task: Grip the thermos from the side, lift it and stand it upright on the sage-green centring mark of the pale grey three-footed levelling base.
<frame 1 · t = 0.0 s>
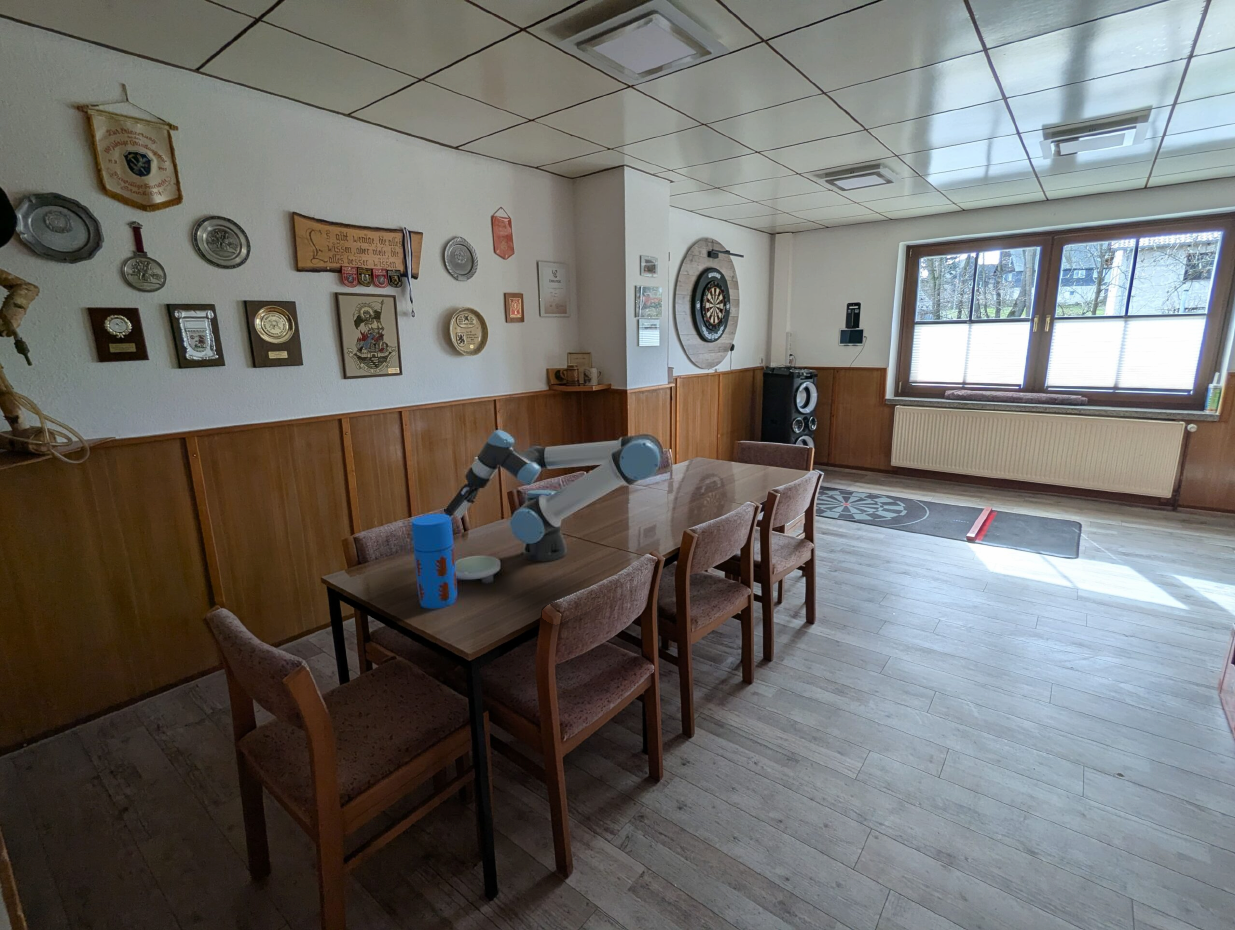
hand: (448, 521, 192), 15 cm above the table, tool tilted 35°, fingers open, 13 cm apart
thermos: (438, 601, 168), on the table
levelling base: (475, 576, 185), on the table
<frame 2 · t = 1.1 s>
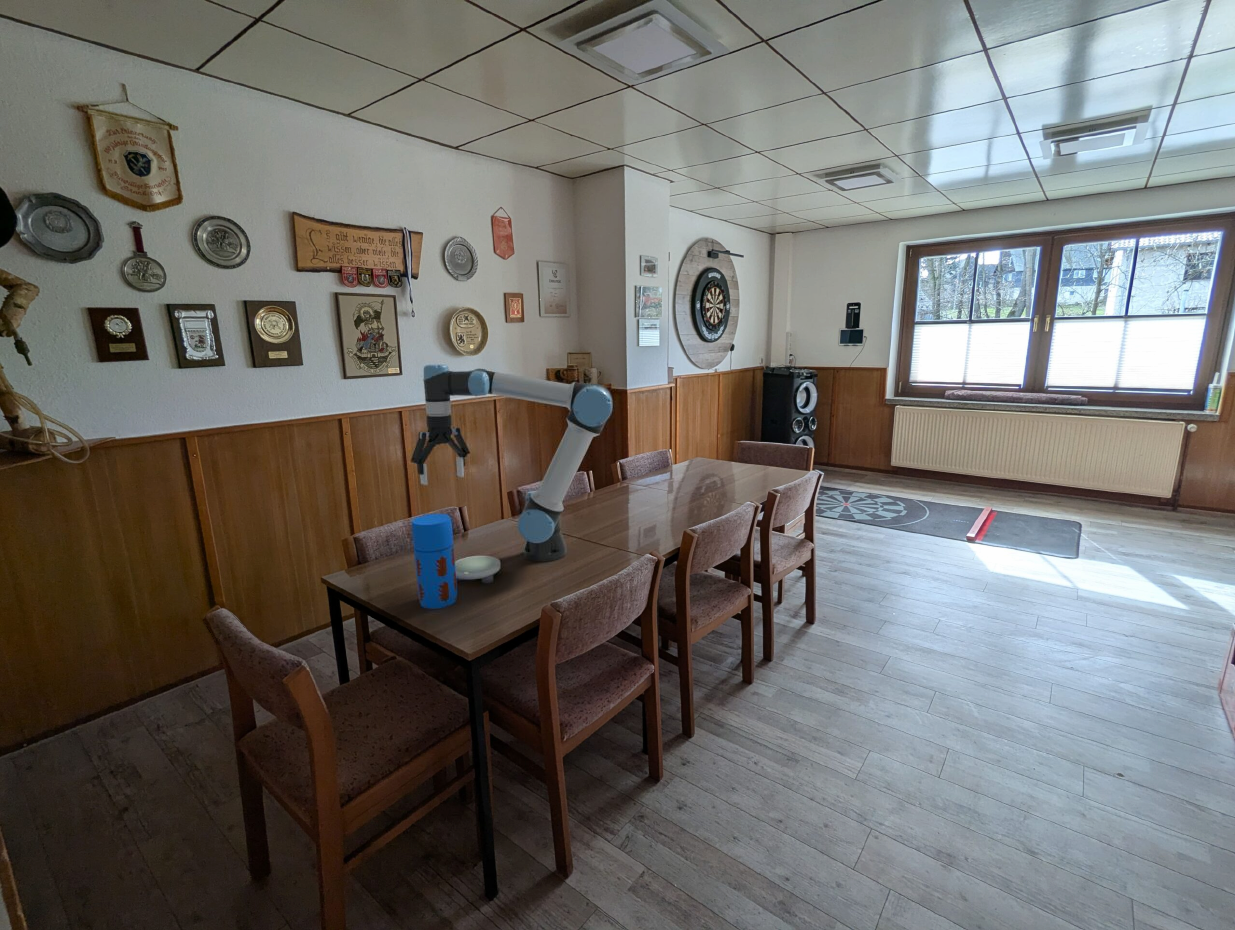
hand: (442, 480, 184), 31 cm above the table, tool pointing down, fingers open, 13 cm apart
nothing on the table moved.
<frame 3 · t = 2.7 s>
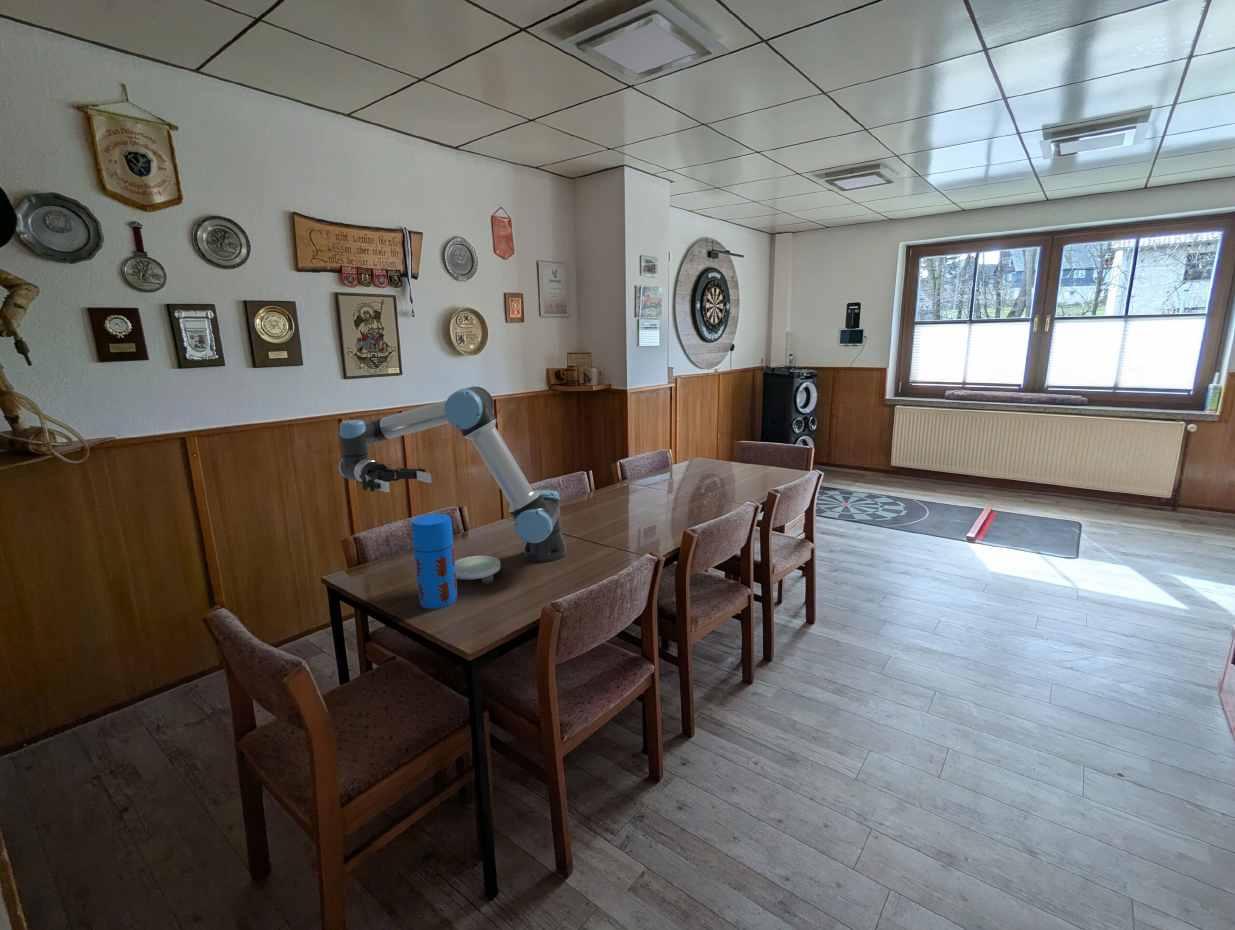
hand: (409, 482, 167), 34 cm above the table, tool horizontal, fingers open, 13 cm apart
nothing on the table moved.
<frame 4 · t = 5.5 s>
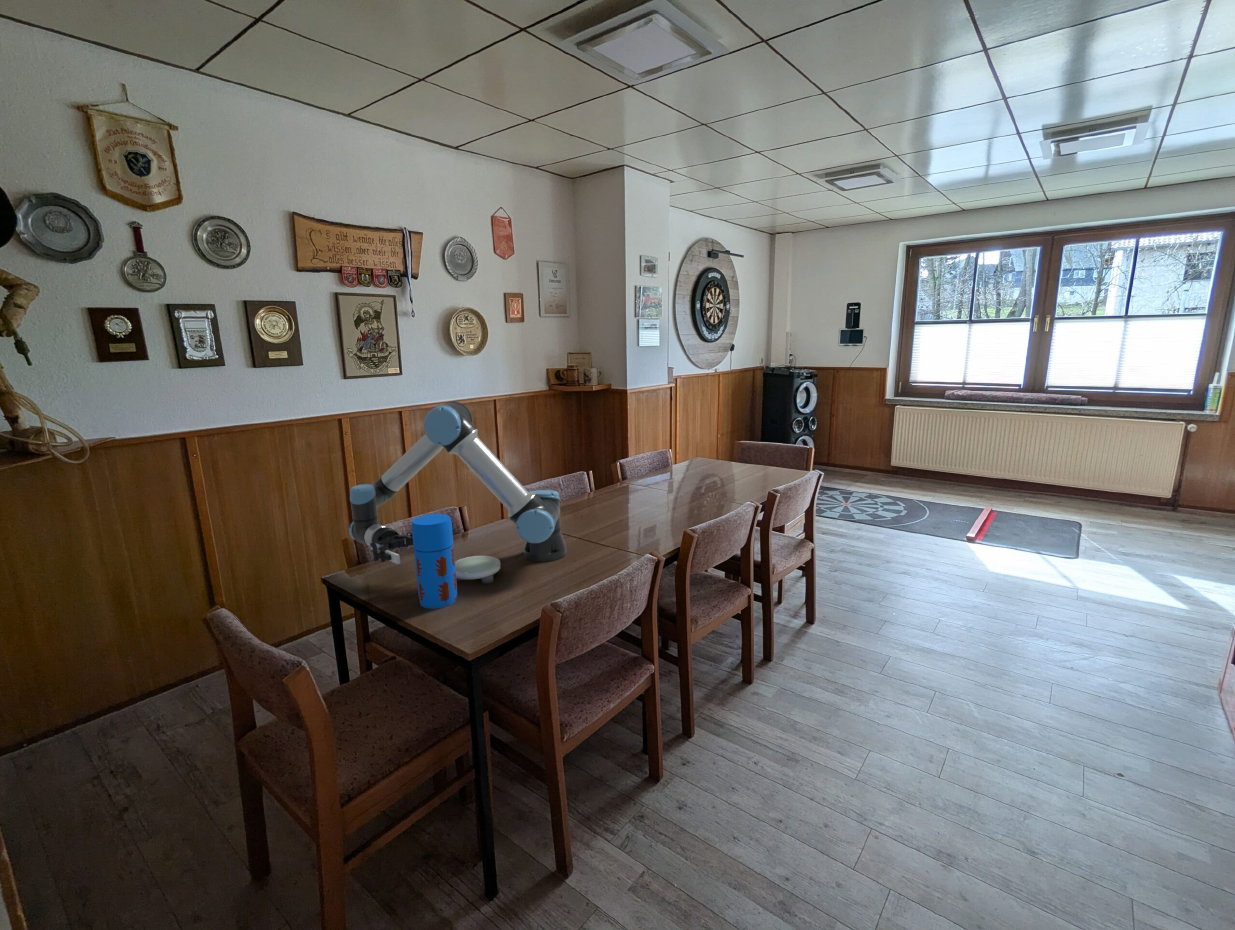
hand: (419, 552, 169), 13 cm above the table, tool horizontal, fingers open, 13 cm apart
nothing on the table moved.
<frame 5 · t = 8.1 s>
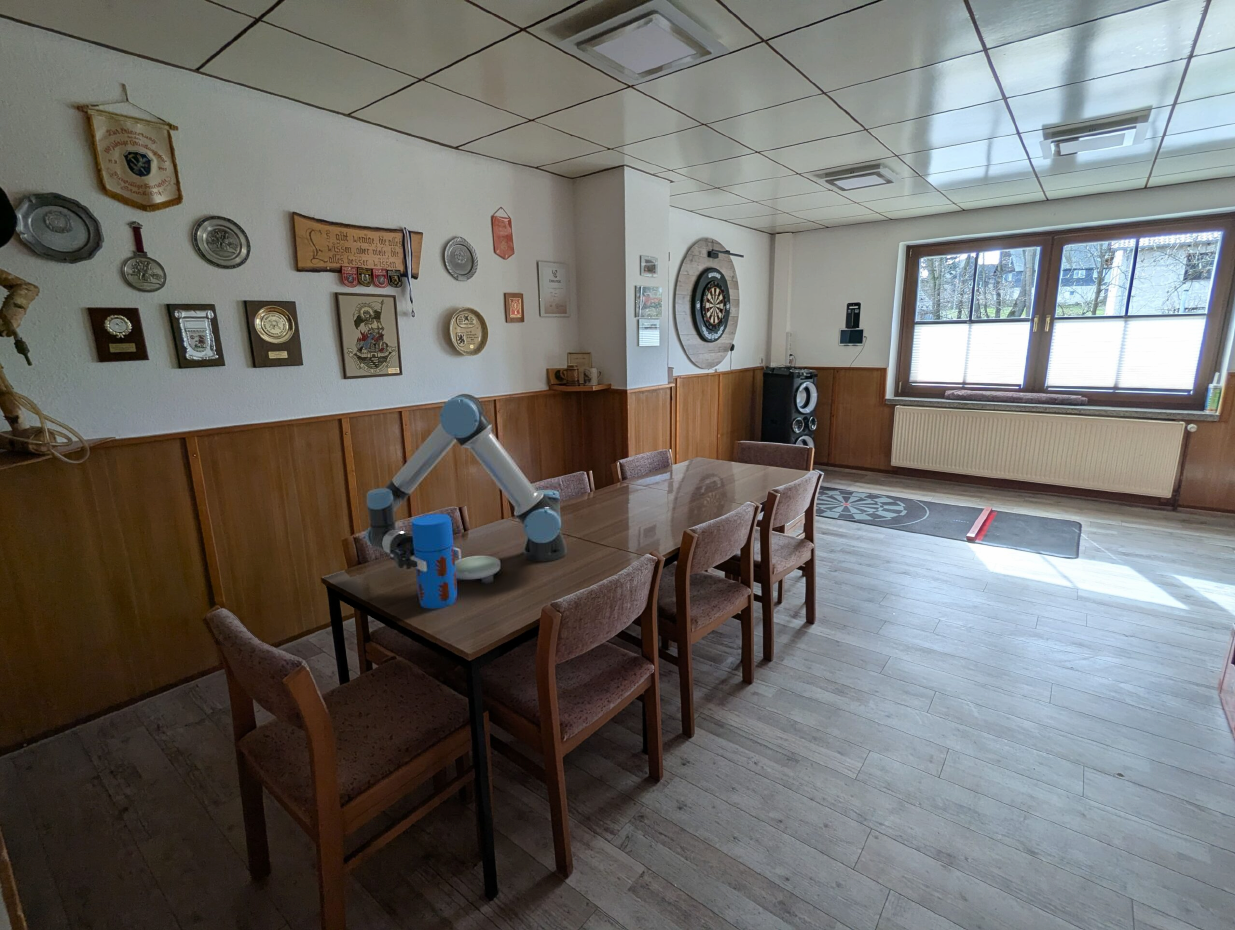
hand: (443, 560, 163), 14 cm above the table, tool horizontal, fingers closed on thermos, 11 cm apart
thermos: (438, 601, 168), on the table, touching gripper
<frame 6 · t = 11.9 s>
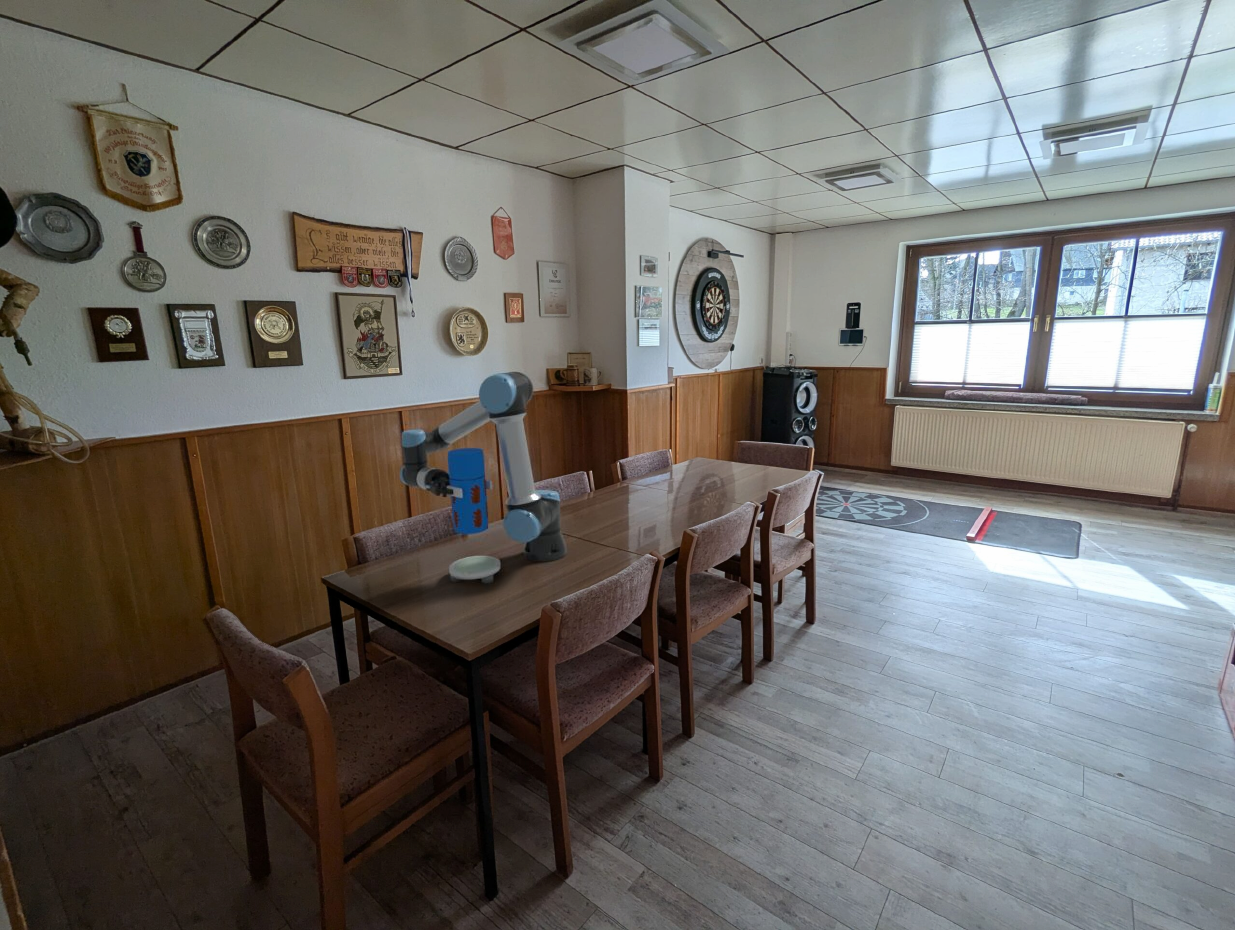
hand: (476, 489, 176), 30 cm above the table, tool horizontal, fingers closed on thermos, 11 cm apart
thermos: (471, 529, 181), point 16 cm above the table, touching gripper
when the fingers open (19 cm above the table, at t = 15.6 s): thermos drops 1 cm, resting on levelling base.
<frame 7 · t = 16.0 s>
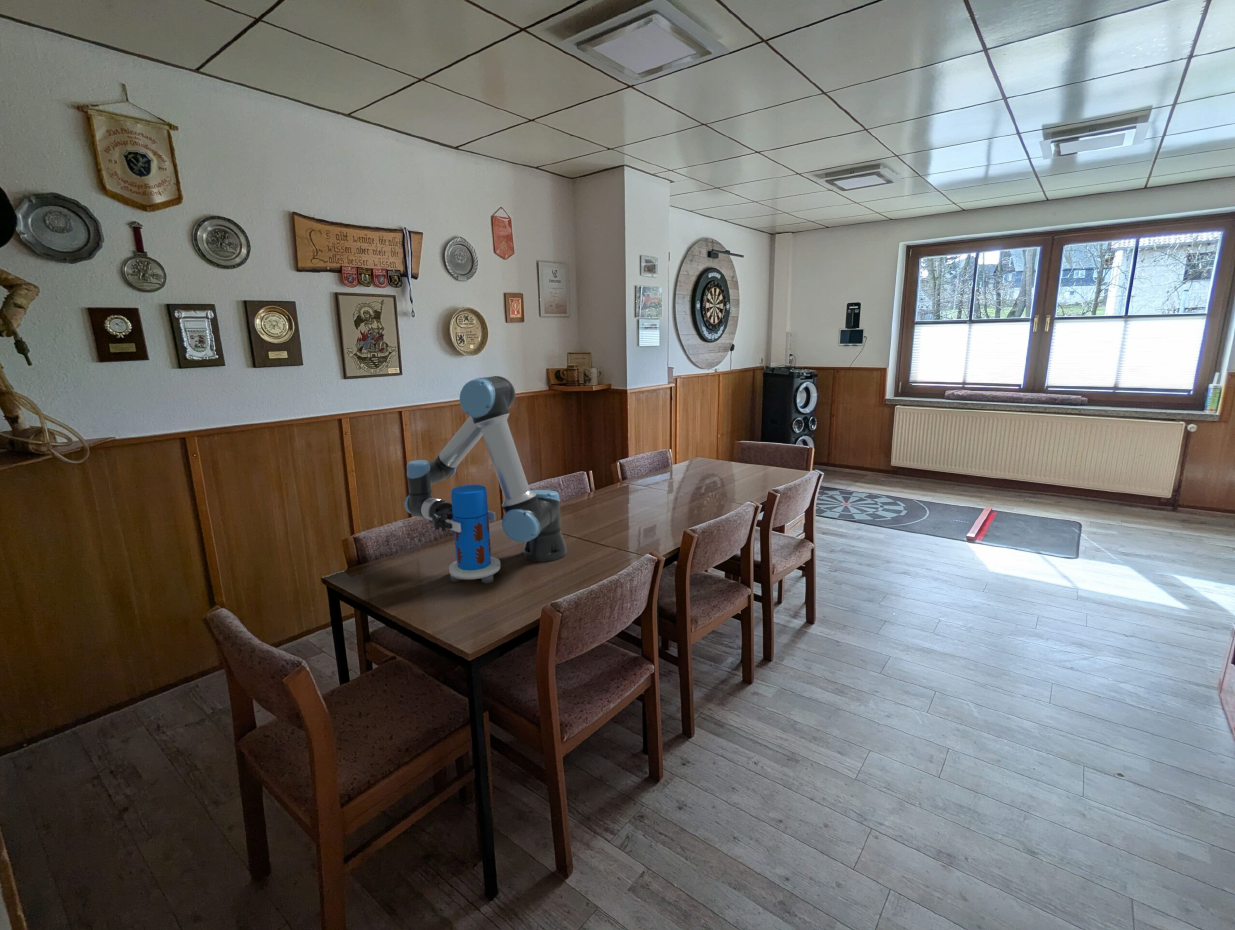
hand: (478, 522, 179), 19 cm above the table, tool horizontal, fingers open, 13 cm apart
thermos: (474, 564, 184), point 4 cm above the table, touching levelling base
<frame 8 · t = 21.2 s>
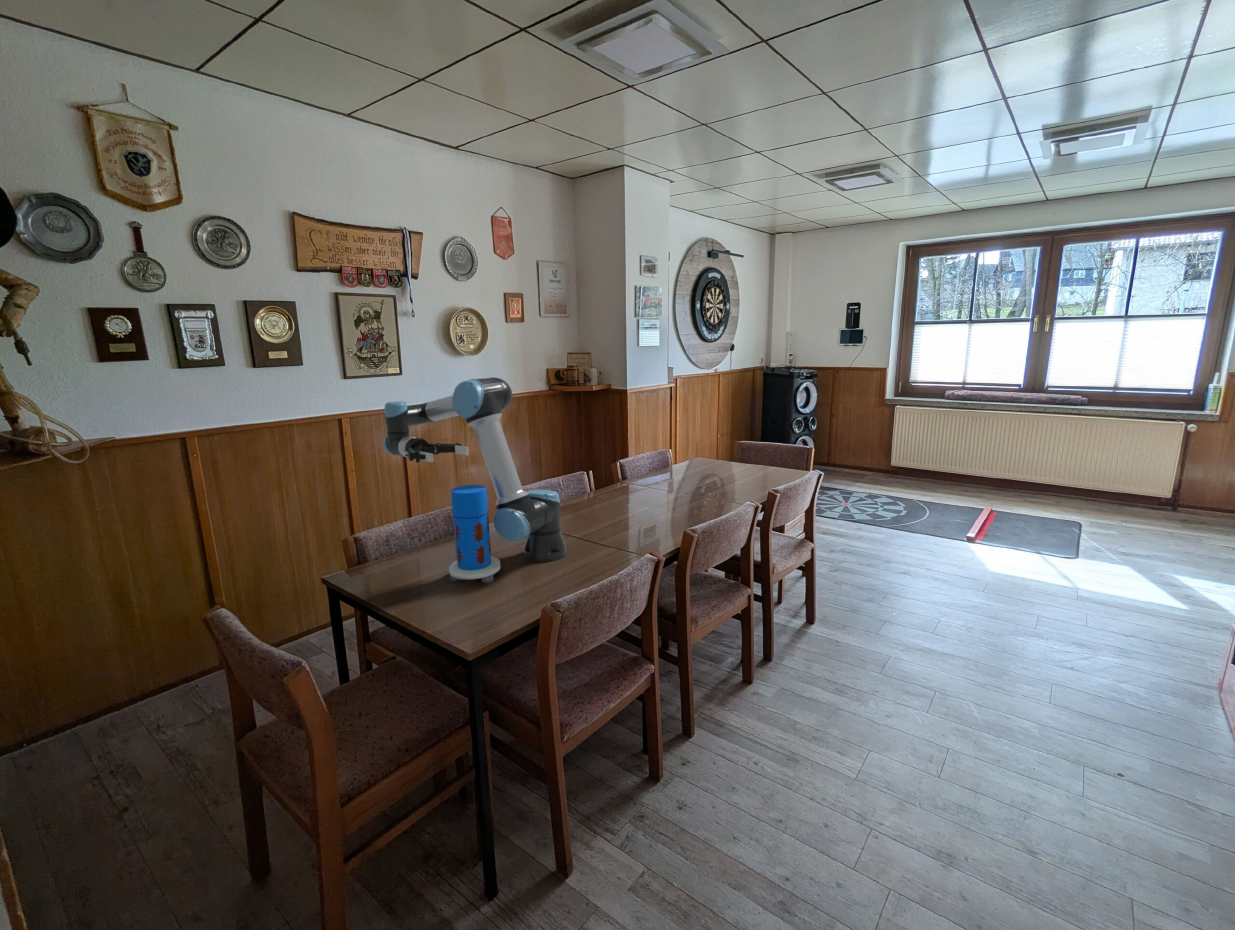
hand: (450, 454, 188), 38 cm above the table, tool horizontal, fingers open, 13 cm apart
nothing on the table moved.
at the end: thermos 0.1 cm off-centre on the levelling base, point 4.0 cm above the levelling base's base; thermos tilted 0°; the gripper is holding nothing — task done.
